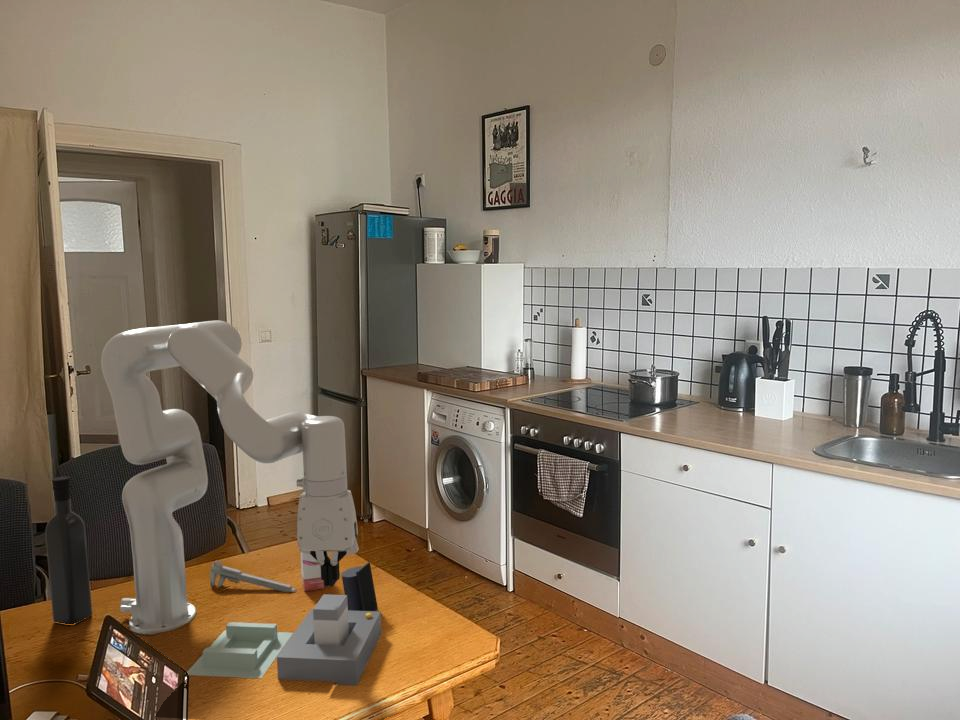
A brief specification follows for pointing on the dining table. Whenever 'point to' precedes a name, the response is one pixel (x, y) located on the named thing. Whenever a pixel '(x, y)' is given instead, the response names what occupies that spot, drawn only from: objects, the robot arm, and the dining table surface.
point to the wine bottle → (67, 559)
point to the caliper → (244, 578)
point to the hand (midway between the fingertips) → (330, 583)
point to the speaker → (359, 588)
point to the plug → (331, 620)
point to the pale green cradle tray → (241, 651)
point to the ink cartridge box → (311, 573)
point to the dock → (330, 651)
